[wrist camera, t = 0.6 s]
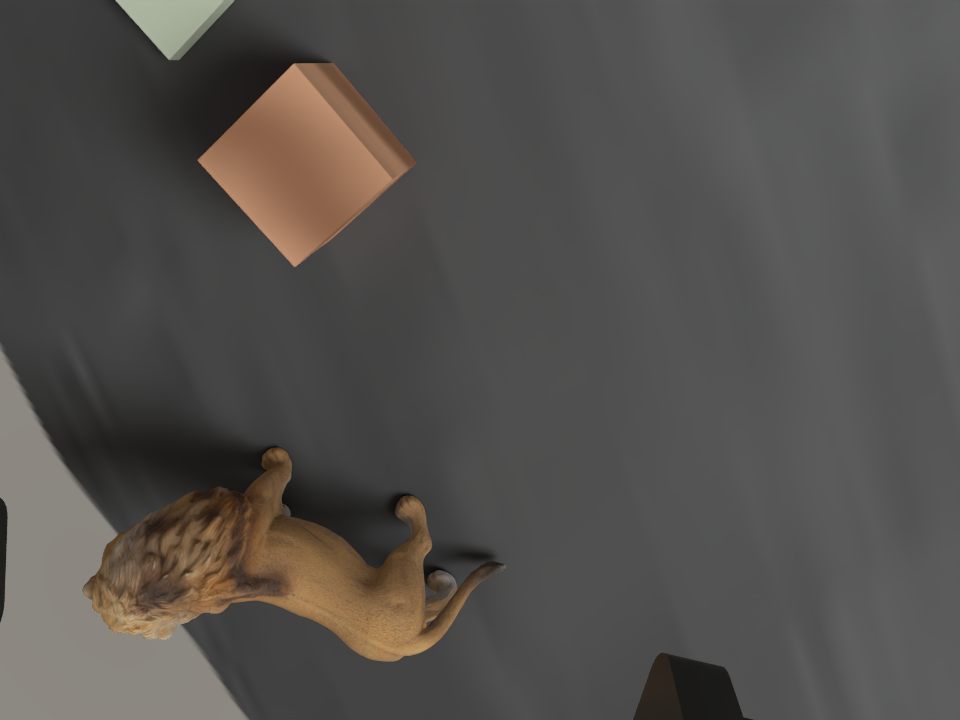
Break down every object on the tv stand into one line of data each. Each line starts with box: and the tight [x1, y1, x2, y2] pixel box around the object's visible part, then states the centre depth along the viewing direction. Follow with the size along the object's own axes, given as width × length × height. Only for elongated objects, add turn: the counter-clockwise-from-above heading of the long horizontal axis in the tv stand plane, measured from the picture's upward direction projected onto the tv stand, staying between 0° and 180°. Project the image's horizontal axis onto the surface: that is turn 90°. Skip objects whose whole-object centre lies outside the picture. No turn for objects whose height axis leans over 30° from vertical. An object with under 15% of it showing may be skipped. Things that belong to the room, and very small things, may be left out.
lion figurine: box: [82, 447, 506, 661], centre depth 31 cm, size 15×5×9 cm, turn 77°
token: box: [197, 63, 417, 267], centre depth 27 cm, size 4×4×4 cm
